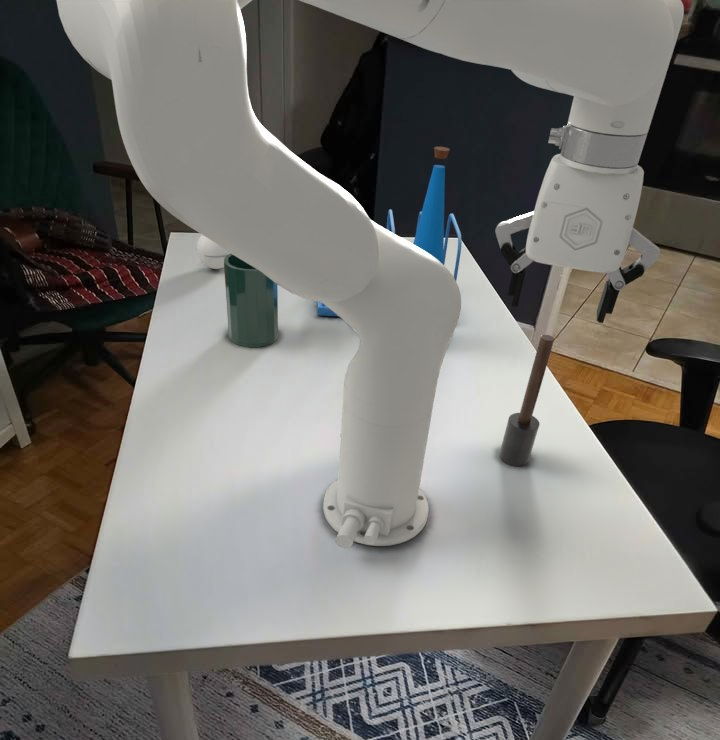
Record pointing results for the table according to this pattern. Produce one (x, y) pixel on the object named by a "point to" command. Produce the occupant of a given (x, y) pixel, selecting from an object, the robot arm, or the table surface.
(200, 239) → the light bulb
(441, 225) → the bottle
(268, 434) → the table surface
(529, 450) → the brush
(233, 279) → the cup
